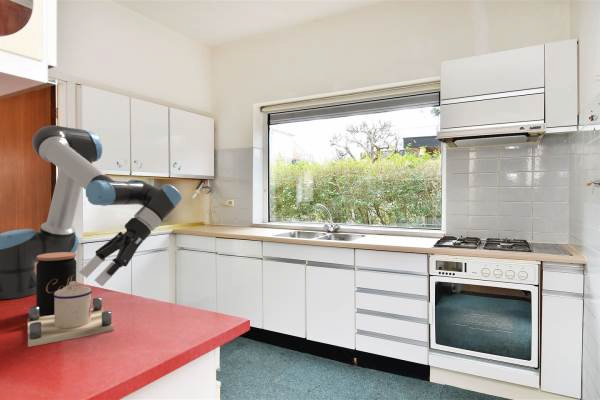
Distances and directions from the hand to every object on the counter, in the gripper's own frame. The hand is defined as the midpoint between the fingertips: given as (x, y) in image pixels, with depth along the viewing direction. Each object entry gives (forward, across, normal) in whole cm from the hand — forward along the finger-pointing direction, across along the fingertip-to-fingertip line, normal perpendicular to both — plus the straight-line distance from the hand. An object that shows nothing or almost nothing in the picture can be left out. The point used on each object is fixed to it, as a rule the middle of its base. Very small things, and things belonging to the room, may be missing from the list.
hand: (90, 279), depth 106 cm
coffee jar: (+12, +20, -7) cm, 24 cm away
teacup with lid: (+12, 0, -5) cm, 13 cm away
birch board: (+13, +1, -6) cm, 14 cm away
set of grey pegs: (+12, +1, -5) cm, 13 cm away
